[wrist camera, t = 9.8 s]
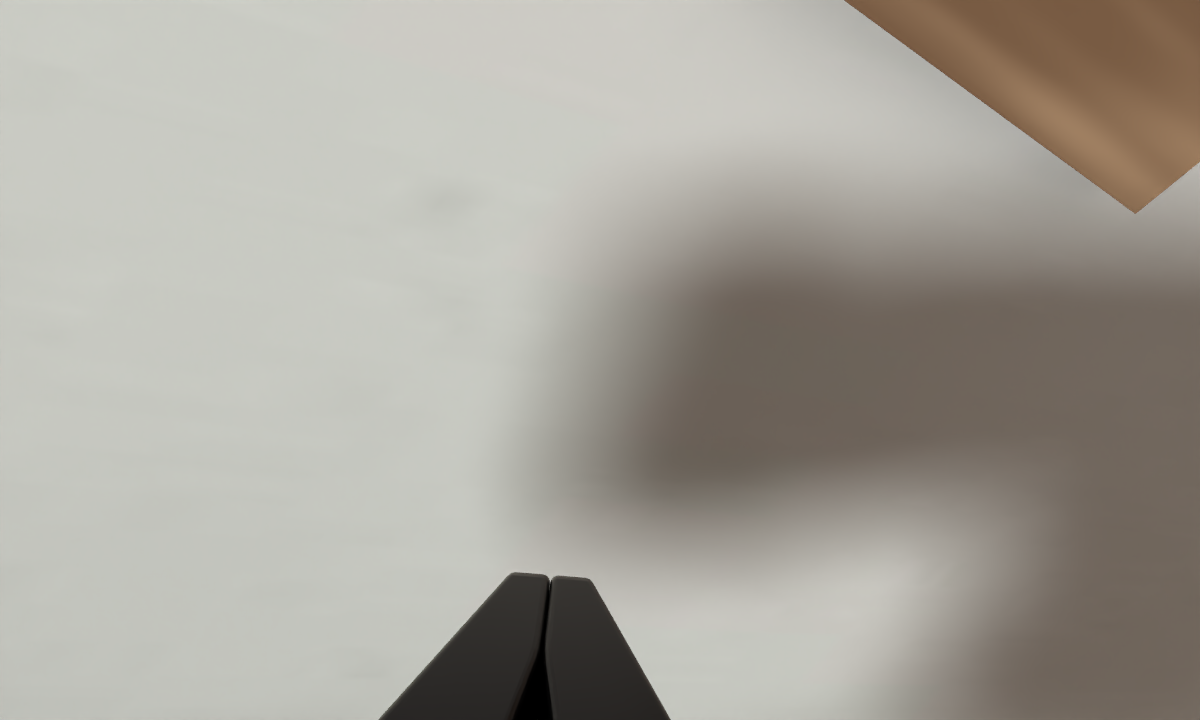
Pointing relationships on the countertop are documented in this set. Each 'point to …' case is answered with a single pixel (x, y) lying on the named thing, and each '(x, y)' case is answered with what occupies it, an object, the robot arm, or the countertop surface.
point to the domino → (1074, 77)
